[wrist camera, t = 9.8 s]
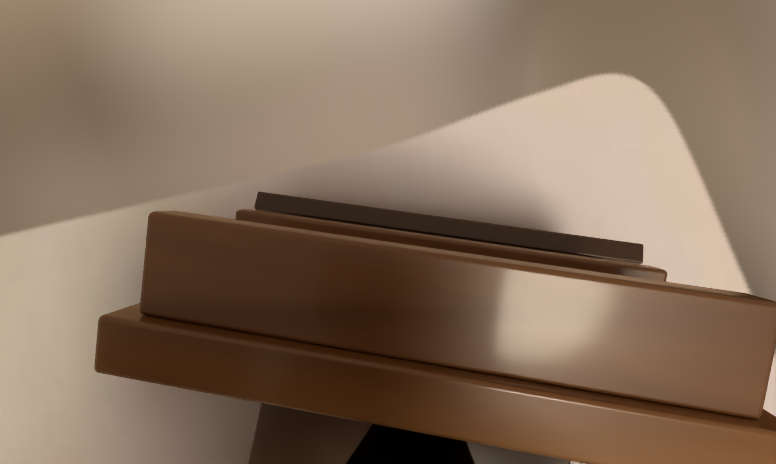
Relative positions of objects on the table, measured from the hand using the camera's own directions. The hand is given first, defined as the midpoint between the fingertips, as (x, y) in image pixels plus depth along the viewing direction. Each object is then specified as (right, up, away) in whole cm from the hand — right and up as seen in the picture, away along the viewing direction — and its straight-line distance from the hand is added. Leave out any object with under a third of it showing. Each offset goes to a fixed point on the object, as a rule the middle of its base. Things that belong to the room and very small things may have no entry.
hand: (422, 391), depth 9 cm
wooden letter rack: (0, +1, +3) cm, 3 cm away
